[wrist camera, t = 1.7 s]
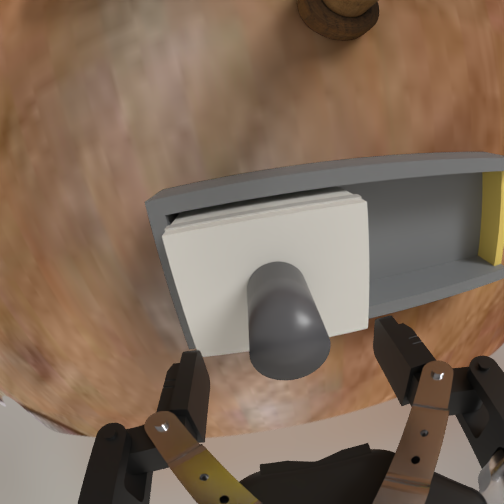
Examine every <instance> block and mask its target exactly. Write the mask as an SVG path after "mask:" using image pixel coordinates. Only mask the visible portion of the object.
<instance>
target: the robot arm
mask: <svg viewBox="0 0 504 504" xmlns="http://www.w3.org/2000/svg"><path fill="white" fill-rule="evenodd" d="M373 349H374V354H375V357H376V359H377V361H378V363H379V364H380V366H381V368H382V370H383V372H384V374H385V375H386V377H387V379H388V381H389V383H390V385H391V387H392V389H393V391H394V392H395V394H396V396H397V398H398V400H399V402H400V404H401V406H404V405H406V404H409V403H410V405H411V407H412V408H411V411H410V414H409V418H408V421H407V423H406V426H405V429H404V432H403V435H402V438H401V440H400V443H399V445H398V448H397V451H396V453H394V452H391V451H387V450H380V449H373V450H372V449H371V450H370V447H369V445H368V443H366V444H363V445H359V446H356V447H352V448H348V449H344V450H341V451H339V452H337V453H335V454H333V455H330V456H328V457H326V458H324V459H321V460H319V461H316V462H303V461H282V462H276V463H268V464H260V471H259V472H256V473H254V474H252V475H249V476H248V477H246V478H244V479H243V480H241V481H240V482H238V481H237V480H236V479H235V478H234V477H233V476H232V475H231V474H230V473H229V472H228V471H227V470H226V469H225V468H224V467H223V466H222V465H221V464H220V463H219V462H218V461H217V460H216V458H215V457H214V456H213V455H212V454H211V453H210V452H209V451H208V450H207V449H206V448H205V447H204V446H203V445H202V444H201V445H200V444H199V443H200V442H205V434H206V423H207V413H208V402H209V392H210V379H209V374H208V372H207V369H206V366H205V363H204V360H203V357H202V354H201V352H200V351H199V350H196V351H186V352H183V353H182V357H181V361H180V363H174V364H173V365H172V366H171V367H170V369H169V370H168V371H167V374H166V378H165V382H164V386H163V387H164V388H163V389H162V393H161V397H160V401H159V404H158V408H157V412H156V413H154V414H152V415H151V416H149V417H148V419H147V420H146V422H145V424H144V425H142V426H138V427H134V428H130V429H125V427H124V426H123V425H121V424H119V423H109V424H107V425H105V426H103V427H102V428H101V429H100V430H99V431H98V433H97V436H96V439H95V442H94V446H93V449H92V453H91V456H90V459H89V463H88V466H87V470H86V474H85V477H84V481H83V485H82V488H81V492H80V496H79V500H78V504H149V501H150V500H149V499H150V492H151V483H152V475H153V471H156V470H160V469H165V468H168V467H170V469H171V470H172V471H173V473H174V474H175V475H176V477H177V478H178V480H179V481H180V482H181V483H182V485H183V486H184V487H185V489H186V490H187V491H188V492H189V494H190V495H191V496H192V497H193V499H194V500H195V501H196V502H197V503H198V504H504V372H503V371H502V370H501V368H500V367H499V366H498V364H497V363H496V362H495V361H494V360H493V359H492V358H490V357H487V356H478V357H475V358H474V359H472V361H471V362H470V365H469V367H462V368H452V367H451V366H450V365H449V364H448V363H446V362H443V361H436V359H435V358H434V357H433V355H432V354H431V353H430V351H429V350H428V349H427V347H426V346H425V345H424V344H423V342H421V340H420V338H419V337H418V336H417V334H416V333H415V332H414V331H413V329H412V328H410V327H409V326H407V325H405V324H403V323H402V324H398V323H397V322H396V320H395V319H394V318H393V317H392V316H387V317H383V318H379V319H376V320H375V326H374V341H373ZM449 415H456V417H457V419H458V421H459V423H460V425H461V427H462V429H463V431H464V433H465V434H466V437H467V438H468V440H469V443H470V445H471V446H472V449H473V451H474V453H475V455H476V457H477V459H478V461H479V463H480V465H481V468H482V470H481V471H480V474H479V476H478V483H479V492H478V491H477V490H475V489H473V488H471V487H468V486H466V485H463V484H461V483H458V482H456V481H454V480H452V479H449V478H447V477H445V476H443V475H440V474H438V473H436V472H434V470H435V467H436V464H437V460H438V457H439V453H440V449H441V446H442V442H443V438H444V434H445V430H446V425H447V421H448V416H449Z"/></svg>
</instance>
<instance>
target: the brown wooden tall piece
mask: <svg viewBox="0 0 504 504" xmlns="http://www.w3.org/2000/svg"><path fill="white" fill-rule="evenodd" d="M377 1H378V0H298V11H299V14H300V16H301V17H302V19H303V21H304V22H305V23H306V24H307V25H308V26H309V27H310V28H311V29H312V30H314V31H315V32H317V33H318V34H320V35H322V36H325V37H328V38H331V39H336V40H351V39H355V38H358V37H360V36H361V35H363V34H364V33H366V32H367V31H368V30H370V29H371V28H372V27H373V26H374V25H375V24H376V22H377V20H378V17H379V5H378V2H377Z"/></svg>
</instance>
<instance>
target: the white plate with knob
mask: <svg viewBox="0 0 504 504" xmlns="http://www.w3.org/2000/svg"><path fill="white" fill-rule="evenodd" d="M164 230H165V233H164V234H163V235H162V239H163V243H164V246H165V250H166V254H167V257H168V261H169V264H170V268H171V271H172V275H173V278H174V281H175V285H176V288H177V291H178V295H179V298H180V301H181V304H182V307H183V311H184V314H185V317H186V320H187V323H188V326H189V329H190V332H191V335H192V338H193V341H194V344H195V346H196V349H197V350H199V351H200V352H201V354H202V357H207V356H216V355H224V354H232V353H240V352H247V351H249V353H250V360H251V363H252V364H253V366H254V367H255V369H256V370H257V371H258V372H260V373H261V374H262V375H264V376H266V377H269V378H272V379H276V380H294V379H298V378H302V377H304V376H307V375H309V374H311V373H312V372H314V371H315V370H317V369H318V368H319V367H320V366H321V365H322V364H323V363H324V362H325V360H326V358H327V357H328V354H329V351H330V339H329V337H332V336H336V335H341V334H346V333H350V332H354V331H359V330H363V329H367V328H368V315H369V230H368V209H367V202H366V201H365V200H363V199H362V196H360V195H358V194H352V193H350V192H348V191H346V190H344V189H342V188H341V187H339V186H334V187H326V188H319V189H312V190H305V191H298V192H292V193H285V194H279V195H273V196H266V197H260V198H254V199H248V200H243V201H237V202H231V203H226V204H220V205H215V206H209V207H204V208H199V209H194V210H189V211H184V212H180V214H179V215H178V216H177V217H176V219H175V220H174V221H173V222H172V224H171V225H168V226H166V228H165V229H164Z"/></svg>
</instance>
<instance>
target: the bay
mask: <svg viewBox="0 0 504 504" xmlns="http://www.w3.org/2000/svg"><path fill="white" fill-rule="evenodd" d="M334 186H339V187H341V188H342V189H344V190H346V191H348V192H350V193H352V194H358V195H360V196H362V199H363V200H365V201H366V202H367V209H368V230H369V315H368V319H369V318H373V317H377V316H382V315H386V314H389V313H393V312H397V311H401V310H405V309H408V308H412V307H416V306H419V305H423V304H426V303H430V302H433V301H437V300H440V299H443V298H447V297H450V296H453V295H456V294H459V293H462V292H466V291H469V290H472V289H475V288H478V287H481V286H483V285H486V284H489V283H492V282H495V281H498V280H500V279H503V278H504V266H503V265H502V264H501V260H502V253H503V246H504V156H503V155H498V154H492V153H487V152H441V153H418V154H401V155H387V156H375V157H364V158H353V159H344V160H334V161H326V162H318V163H310V164H302V165H295V166H288V167H281V168H274V169H268V170H262V171H255V172H249V173H244V174H238V175H232V176H227V177H221V178H216V179H211V180H206V181H201V182H196V183H191V184H186V185H182V186H177V187H172V188H168V189H163V190H161V191H160V192H158V193H157V194H156V195H154V196H153V197H151V198H150V199H148V200H147V201H145V205H146V209H147V213H148V217H149V221H150V225H151V229H152V232H153V236H154V240H155V243H156V247H157V251H158V254H159V258H160V261H161V265H162V268H163V271H164V275H165V278H166V281H167V284H168V288H169V291H170V294H171V297H172V300H173V303H174V306H175V309H176V312H177V315H178V318H179V321H180V324H181V327H182V330H183V333H184V336H185V339H186V341H187V344H188V347H189V349H195V348H196V346H195V344H194V341H193V338H192V335H191V332H190V329H189V326H188V323H187V320H186V317H185V314H184V311H183V307H182V304H181V301H180V298H179V295H178V291H177V288H176V285H175V281H174V278H173V275H172V271H171V268H170V264H169V261H168V257H167V254H166V250H165V246H164V243H163V239H162V235H163V234H164V233H165V230H164V229H165V228H166V226H168V225H171V224H172V222H173V221H174V220H175V219H176V217H177V216H178V215H179V214H180V212H184V211H189V210H194V209H199V208H204V207H209V206H215V205H220V204H226V203H231V202H237V201H243V200H248V199H254V198H260V197H266V196H273V195H279V194H285V193H292V192H298V191H305V190H312V189H319V188H326V187H334Z"/></svg>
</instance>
